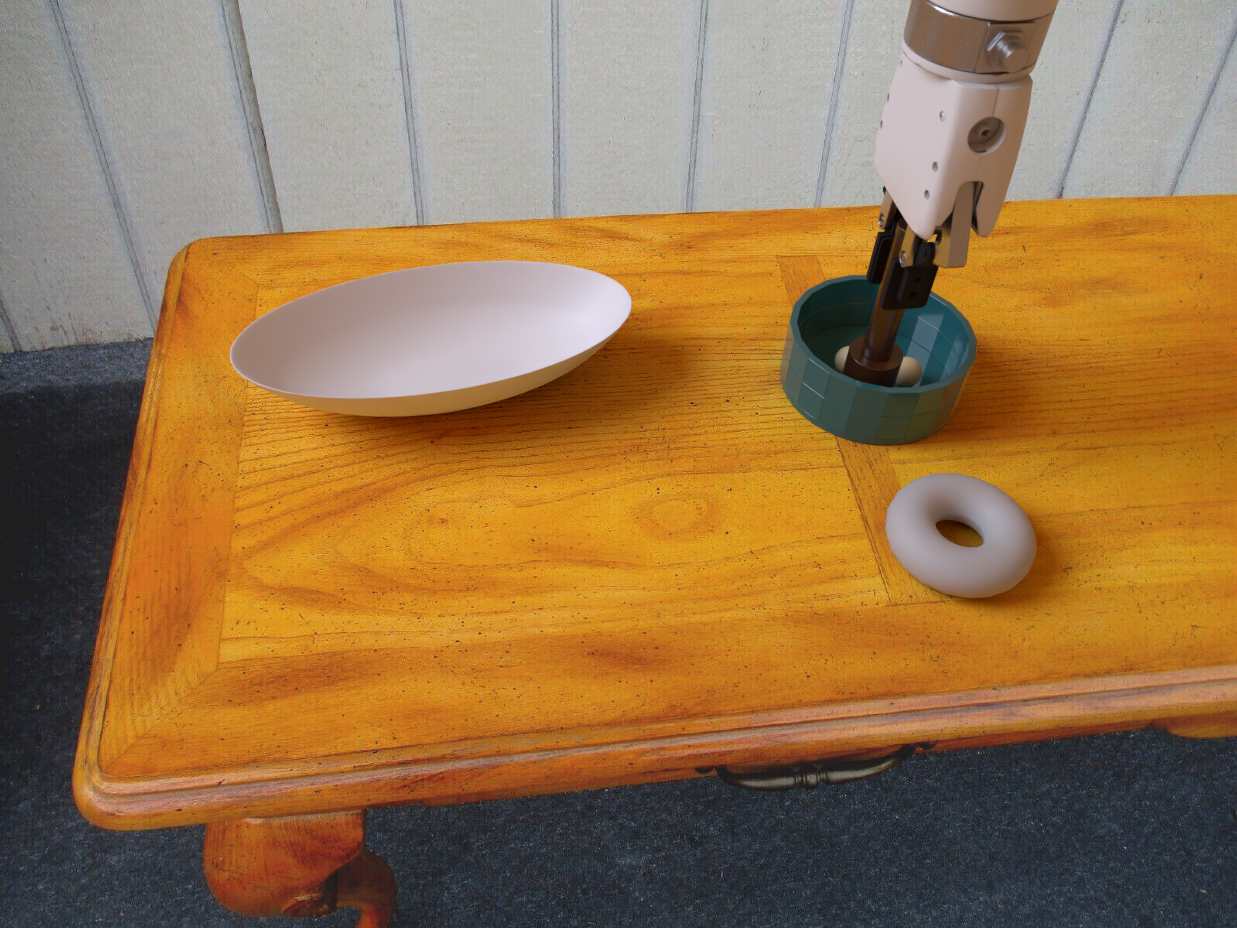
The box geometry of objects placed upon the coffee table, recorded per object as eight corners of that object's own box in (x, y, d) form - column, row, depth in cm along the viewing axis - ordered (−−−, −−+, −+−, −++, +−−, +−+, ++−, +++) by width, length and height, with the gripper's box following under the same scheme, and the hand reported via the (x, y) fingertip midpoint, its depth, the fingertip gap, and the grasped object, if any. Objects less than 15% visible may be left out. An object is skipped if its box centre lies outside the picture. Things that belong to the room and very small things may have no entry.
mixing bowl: (992, 395, 77) (1015, 342, 73) (874, 473, 71) (892, 420, 67) (860, 306, 84) (874, 254, 80) (743, 370, 78) (752, 317, 74)
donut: (850, 527, 67) (950, 631, 61) (860, 495, 65) (965, 600, 59) (954, 477, 71) (1058, 571, 65) (967, 444, 68) (1077, 538, 62)
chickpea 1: (867, 374, 77) (874, 351, 76) (847, 386, 76) (853, 363, 75) (845, 358, 79) (851, 335, 77) (825, 370, 78) (831, 347, 76)
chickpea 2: (924, 385, 77) (932, 362, 75) (904, 397, 76) (912, 374, 74) (901, 369, 78) (908, 346, 76) (881, 380, 77) (888, 358, 75)
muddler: (904, 385, 73) (958, 228, 62) (869, 407, 71) (918, 249, 61) (865, 357, 75) (911, 201, 64) (830, 377, 73) (871, 220, 63)
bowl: (603, 300, 84) (605, 241, 79) (653, 415, 74) (658, 356, 70) (249, 353, 78) (229, 293, 73) (253, 487, 68) (230, 426, 64)
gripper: (1106, 93, 48) (990, 365, 62) (982, -30, 59) (906, 225, 72) (966, 99, 47) (880, 374, 61) (865, -27, 58) (811, 231, 72)
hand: (895, 291), depth 67 cm, fingers closed on muddler, 2 cm apart
